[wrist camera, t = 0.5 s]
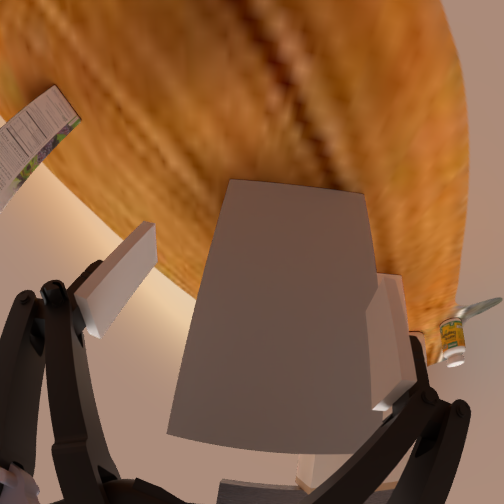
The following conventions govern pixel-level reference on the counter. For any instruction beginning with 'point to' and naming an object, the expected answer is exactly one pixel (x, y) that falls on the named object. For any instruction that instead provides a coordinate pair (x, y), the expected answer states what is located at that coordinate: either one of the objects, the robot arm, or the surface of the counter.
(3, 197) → the syrup box
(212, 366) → the tall grey pillar block
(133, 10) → the counter surface
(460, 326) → the supplement bottle
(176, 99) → the counter surface
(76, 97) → the counter surface
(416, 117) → the counter surface
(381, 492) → the handle rail
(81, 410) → the robot arm
